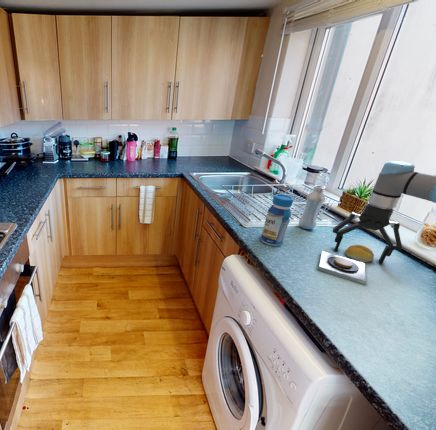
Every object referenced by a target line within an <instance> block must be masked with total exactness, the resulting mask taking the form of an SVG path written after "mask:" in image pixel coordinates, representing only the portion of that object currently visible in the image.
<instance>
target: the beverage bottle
mask: <svg viewBox="0 0 436 430" xmlns="http://www.w3.org/2000/svg"><path fill="white" fill-rule="evenodd" d="M272 198H273V199H272V205H271V206H269V208H268V209H267V214H266V215H265V220H264V224H263V229H262V233H261V235H260V240H261V242H263V243H264V244H266V245H269V246H273V247H279V246H281V245H282V244H283V243H284V238H285V235H286V232H287V229H288V226H289V224H290V221H291V219H290V217H292V210H291V207H292V206H293V203H294V198H293V196H291V195H288V194H284V193H276V194H274V196H273V197H272Z"/></svg>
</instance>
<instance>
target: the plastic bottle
mask: <svg viewBox="0 0 436 430" xmlns="http://www.w3.org/2000/svg"><path fill="white" fill-rule="evenodd" d="M325 189H326V187H325V186H323V185H319V184H317V185H314V187H313V191H311V192H309V194H308V195H307V197H306V202H305V205H304V206H305V207H304V209H303V210H304V211H303V212H302V214H301V216H300V218H299V219H298V226H299V227H300V228H302V229H305V230H313V229H315V227H316V226H317V221H318V217H319V213H320V211H321V208H322V207H323V204H324V203H325V201H326V197H325V194H324V192H325Z"/></svg>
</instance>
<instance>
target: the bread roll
mask: <svg viewBox="0 0 436 430" xmlns="http://www.w3.org/2000/svg"><path fill="white" fill-rule="evenodd" d="M344 254H345V255H346V256H347V257H349V259H352V260H355V261H359V262H362V263H369V262H372V261H373V260H374V258H375V255H374V252H373V251H372V249H370V248H369V247H368V246H366V245H362V244H352V245H350V246H348V247H347V248H346V249H345V250H344Z"/></svg>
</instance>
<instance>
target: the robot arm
mask: <svg viewBox="0 0 436 430" xmlns="http://www.w3.org/2000/svg"><path fill="white" fill-rule="evenodd" d="M415 168H416V166H415V165H414V164H413V163H409V162H406V161H399V160H390V161H386V162H385V163H384V164H383V166H382V168H381V170H380V172H379V173H378V176H377V178H376V181H375V184H374V186H373V189H372V191H371V193H370V195H369V197H368V200H367V203H366V204H365V206H364V209H363V210H362V213H361V214H359V213H356V212H355V211H351V212H350V213H349V215H348V216H347V217H346V218H345V219H343V220H342V221H341V222H339V223H338V224H337V225H335V226H334V227H333V228H332V233H334V234H336V235H335V237H334V242H335V247H334V252H338V250H339V247H340V246H341V243H342V241H343V238H344V235H345V234H348V233H350V232H352V231H355V230H357V229H360V228H364V229H367V230H372V231H375V232H376V231H379V232H380V234H381V236H382V237H383V239H384V240H385V242H386V245H385V247H384V249H383V251H382V253H381V255H380V257H379V259H378V263H379V264H380V265H383V262H384V261H385V259H386V257H390V256H391V255H392V253H393V252H394V251H395V250H400V251H401V250H402V249H403V245H402V240H401V235H400V231H399V229H400V226H401V225H400V224H401V223H400V222H399V221H398V220H396V221H390V219H391V217H392V215H393V213H394V212H395V208H396V207H397V204H398V202H399V200H400V198H401V196H402V195H407V196H410V197H414V198H418V199H421V200H425V201H428V202H431V203H435V204H436V174H434V175H433V174H427V173H423V172H422V173H421V172H418V171H415ZM356 219H359V220H358V221H357V222H355V223H353V224H351V225H348V224H349V223H351V222H352V221H353V220H356ZM347 225H348V226H347ZM345 226H346V227H345ZM388 226H390V228H391V229H392V230H393V234H394V239H395V243H393V241H392V239H391V237H390V236H389V233H388V232H387V230H386V229H385V228H386V227H388Z"/></svg>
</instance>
